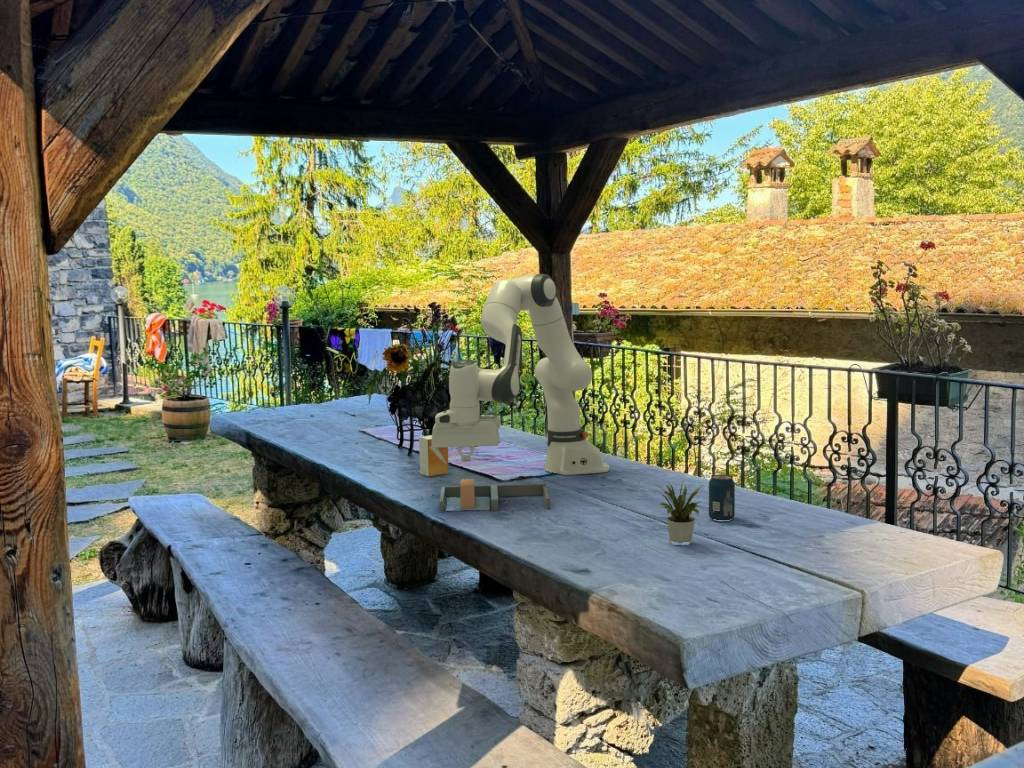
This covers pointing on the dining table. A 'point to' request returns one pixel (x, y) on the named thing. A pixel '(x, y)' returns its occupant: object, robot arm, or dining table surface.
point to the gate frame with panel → (494, 494)
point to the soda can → (721, 497)
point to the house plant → (680, 515)
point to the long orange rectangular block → (467, 493)
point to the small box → (432, 458)
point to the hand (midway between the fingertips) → (466, 461)
